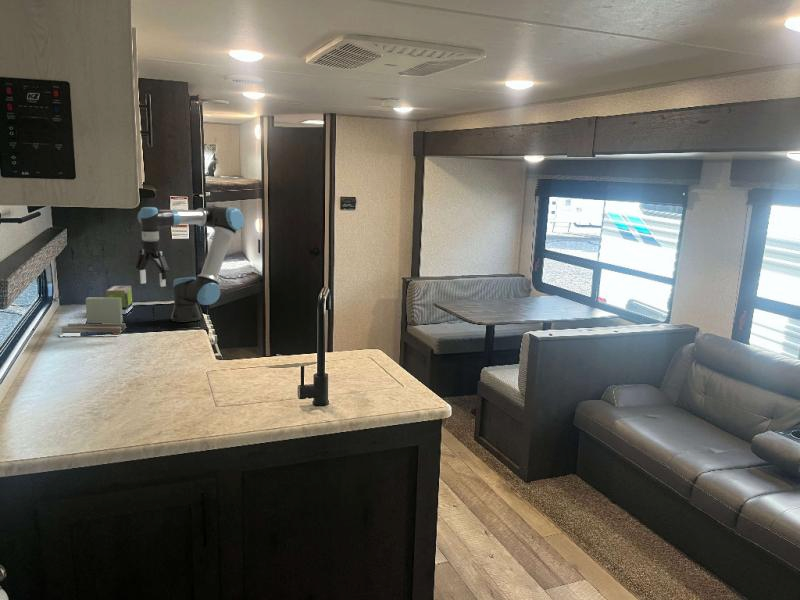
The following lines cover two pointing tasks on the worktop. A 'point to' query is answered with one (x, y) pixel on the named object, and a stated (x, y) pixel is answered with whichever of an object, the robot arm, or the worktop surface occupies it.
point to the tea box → (124, 293)
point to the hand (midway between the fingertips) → (153, 284)
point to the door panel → (104, 309)
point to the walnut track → (95, 328)
